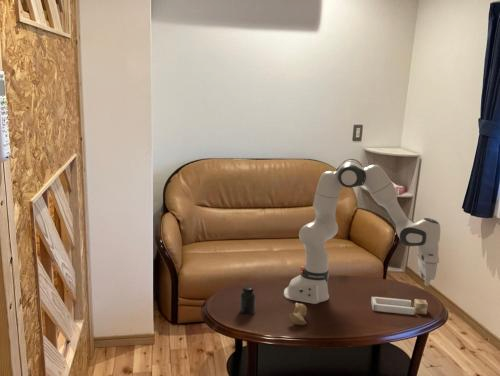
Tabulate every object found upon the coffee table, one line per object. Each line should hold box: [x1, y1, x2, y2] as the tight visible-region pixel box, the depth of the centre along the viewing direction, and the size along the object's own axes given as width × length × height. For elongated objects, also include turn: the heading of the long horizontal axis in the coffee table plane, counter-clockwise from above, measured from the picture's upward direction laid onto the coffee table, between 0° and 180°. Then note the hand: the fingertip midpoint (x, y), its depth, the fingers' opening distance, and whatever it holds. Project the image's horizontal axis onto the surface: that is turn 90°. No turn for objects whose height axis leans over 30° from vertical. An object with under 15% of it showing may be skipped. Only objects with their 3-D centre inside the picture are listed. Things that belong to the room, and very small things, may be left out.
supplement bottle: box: [239, 284, 256, 316], centre depth 208 cm, size 7×7×12 cm
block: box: [413, 298, 429, 315], centre depth 216 cm, size 5×5×5 cm
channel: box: [370, 295, 415, 316], centre depth 219 cm, size 18×10×3 cm, turn 81°
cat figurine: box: [288, 301, 308, 326], centre depth 203 cm, size 8×7×12 cm
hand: (424, 281), depth 214 cm, fingers open, 8 cm apart
